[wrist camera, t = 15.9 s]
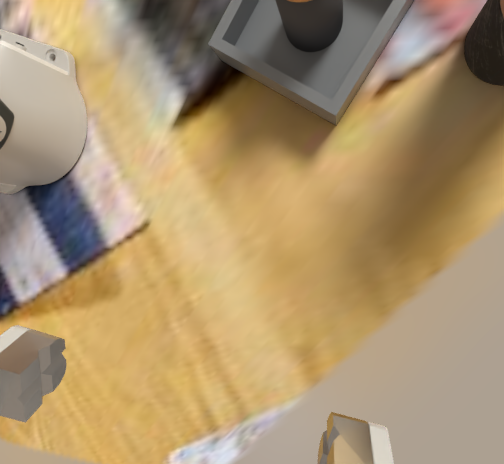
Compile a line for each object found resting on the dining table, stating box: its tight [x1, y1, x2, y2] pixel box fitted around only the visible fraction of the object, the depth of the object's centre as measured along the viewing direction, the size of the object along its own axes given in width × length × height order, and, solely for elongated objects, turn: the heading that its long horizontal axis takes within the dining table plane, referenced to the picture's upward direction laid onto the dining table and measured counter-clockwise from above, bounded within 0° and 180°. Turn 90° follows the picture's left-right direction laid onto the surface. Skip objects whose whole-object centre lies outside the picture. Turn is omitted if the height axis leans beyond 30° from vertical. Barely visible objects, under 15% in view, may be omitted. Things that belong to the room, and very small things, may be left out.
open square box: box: [208, 0, 414, 126], centre depth 34 cm, size 14×14×4 cm
